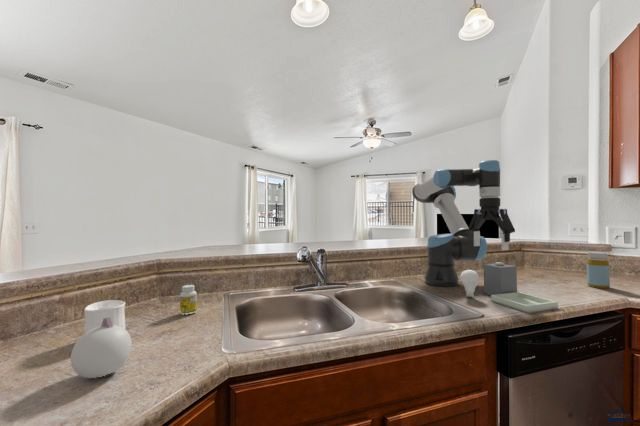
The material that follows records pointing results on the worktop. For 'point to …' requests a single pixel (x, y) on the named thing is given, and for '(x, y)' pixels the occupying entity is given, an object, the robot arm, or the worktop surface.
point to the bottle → (598, 270)
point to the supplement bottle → (188, 299)
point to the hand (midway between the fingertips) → (490, 248)
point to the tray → (524, 302)
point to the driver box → (499, 278)
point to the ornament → (101, 350)
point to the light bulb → (469, 281)
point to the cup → (104, 314)
